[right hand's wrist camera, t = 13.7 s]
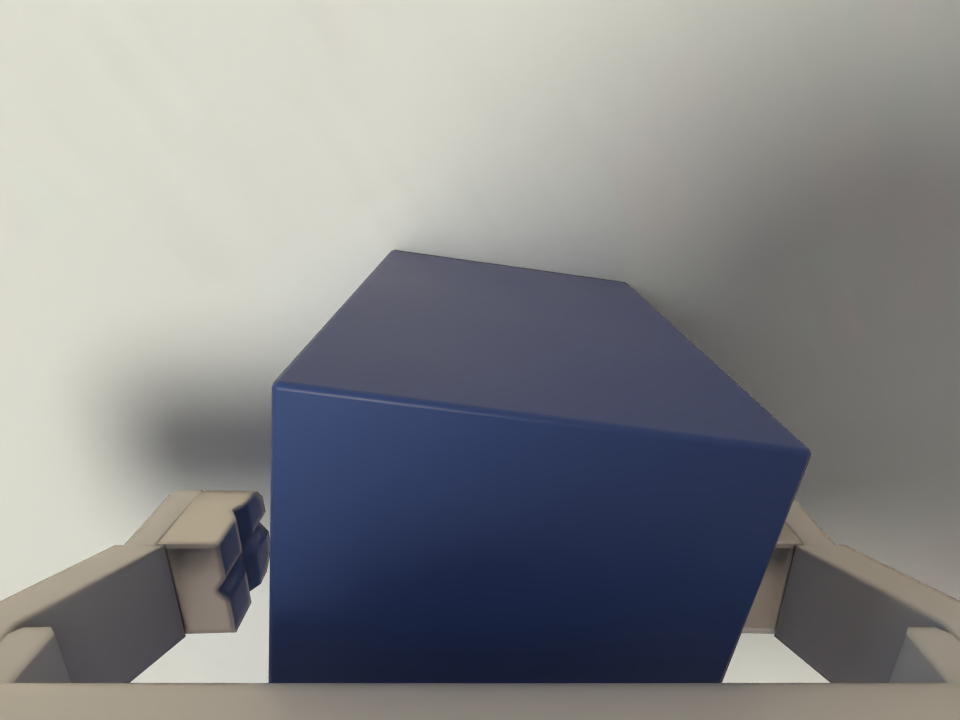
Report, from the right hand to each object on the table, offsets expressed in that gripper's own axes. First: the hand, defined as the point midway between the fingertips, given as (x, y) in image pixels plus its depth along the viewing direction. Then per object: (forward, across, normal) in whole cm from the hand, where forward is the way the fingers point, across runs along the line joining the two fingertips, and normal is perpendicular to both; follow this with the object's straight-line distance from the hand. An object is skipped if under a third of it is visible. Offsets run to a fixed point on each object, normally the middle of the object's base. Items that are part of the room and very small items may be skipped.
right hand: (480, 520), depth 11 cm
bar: (+4, -1, -8) cm, 9 cm away
